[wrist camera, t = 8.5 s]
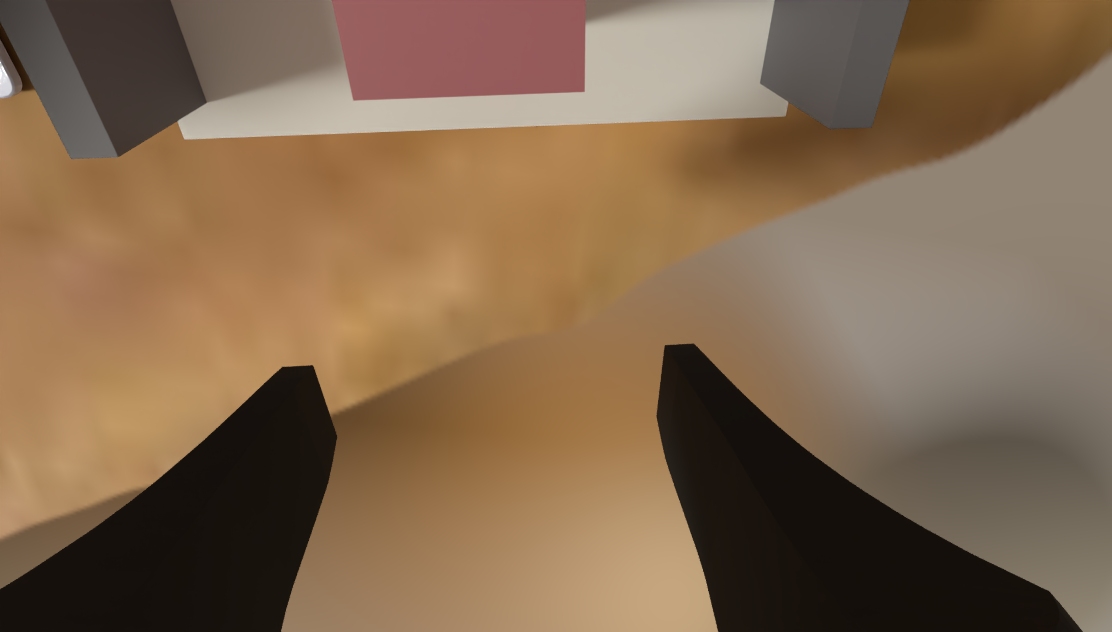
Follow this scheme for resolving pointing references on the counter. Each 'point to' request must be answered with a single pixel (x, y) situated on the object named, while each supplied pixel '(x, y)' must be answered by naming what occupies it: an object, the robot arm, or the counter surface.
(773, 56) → the grey open rack
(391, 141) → the counter surface
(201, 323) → the counter surface
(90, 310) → the counter surface
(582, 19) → the burgundy book
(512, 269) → the counter surface
